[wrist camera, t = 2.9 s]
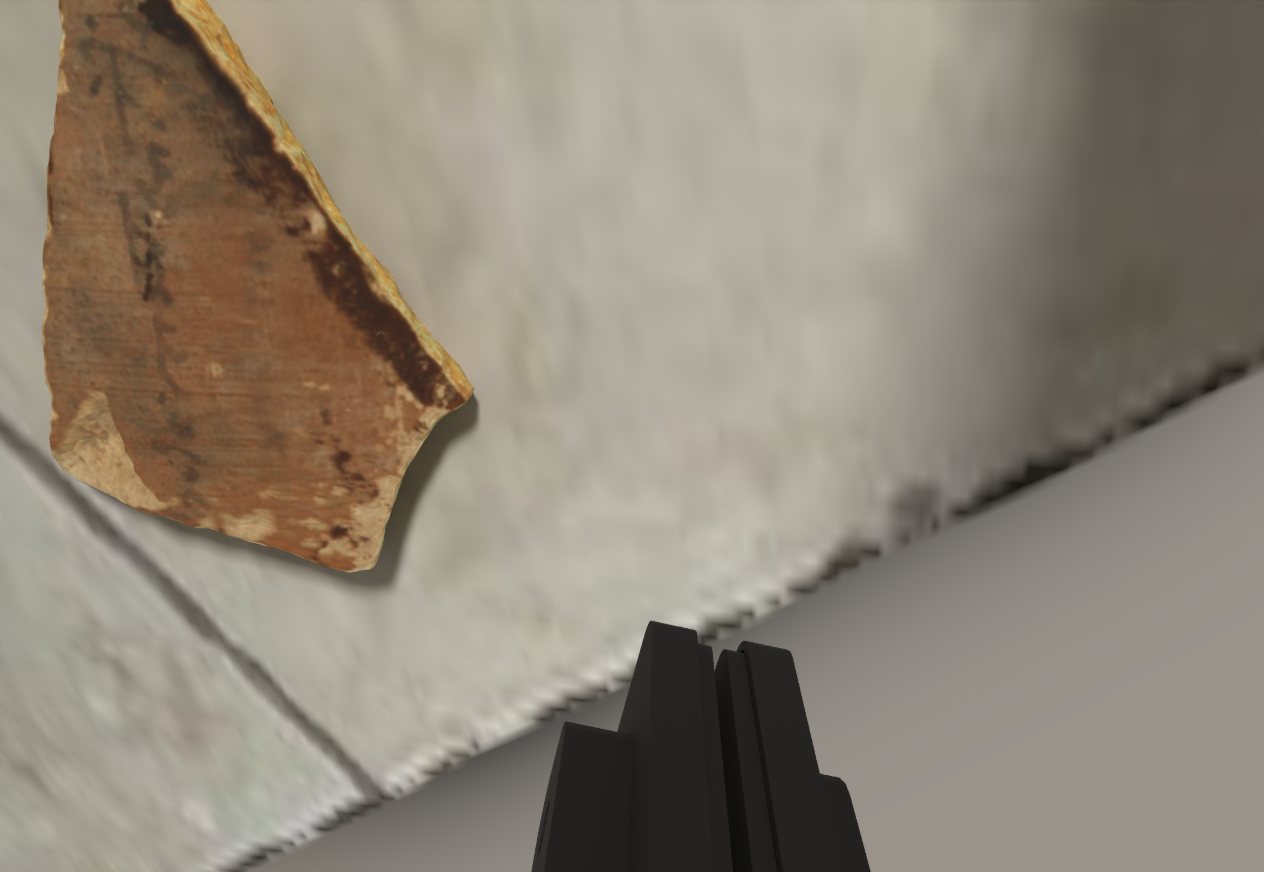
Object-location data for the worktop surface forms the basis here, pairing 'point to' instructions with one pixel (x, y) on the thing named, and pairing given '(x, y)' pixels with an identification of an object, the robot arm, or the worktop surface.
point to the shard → (219, 300)
